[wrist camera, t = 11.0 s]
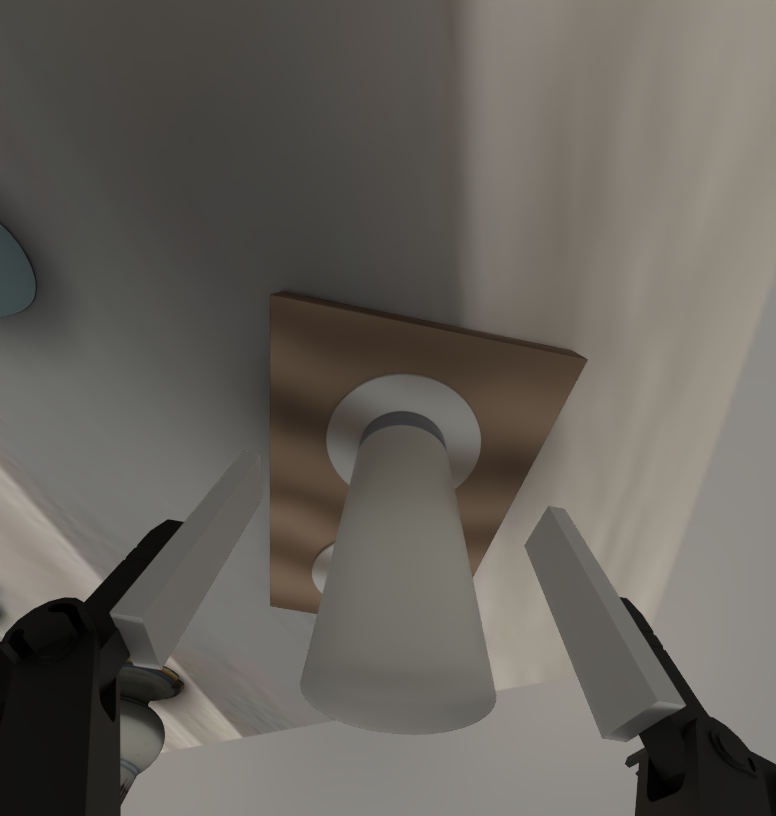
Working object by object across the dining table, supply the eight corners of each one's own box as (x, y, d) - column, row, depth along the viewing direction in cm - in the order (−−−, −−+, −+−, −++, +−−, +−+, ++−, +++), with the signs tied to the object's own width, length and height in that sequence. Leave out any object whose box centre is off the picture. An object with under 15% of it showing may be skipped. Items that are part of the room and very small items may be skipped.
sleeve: (366, 403, 16) (306, 631, 6) (456, 420, 16) (529, 668, 7) (354, 473, 18) (296, 719, 9) (432, 487, 19) (461, 744, 9)
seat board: (281, 291, 16) (265, 295, 14) (572, 350, 16) (593, 362, 14) (276, 589, 28) (267, 612, 26) (440, 617, 29) (443, 640, 27)
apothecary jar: (206, 698, 41) (79, 979, 25) (126, 694, 42) (-44, 962, 26) (169, 654, 36) (-24, 978, 20) (78, 651, 37) (-173, 957, 21)
